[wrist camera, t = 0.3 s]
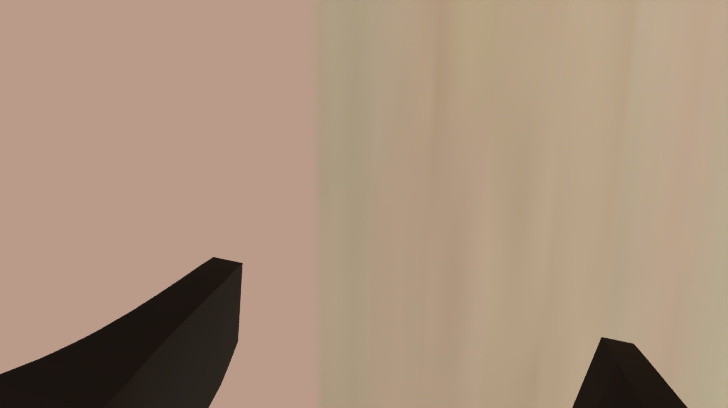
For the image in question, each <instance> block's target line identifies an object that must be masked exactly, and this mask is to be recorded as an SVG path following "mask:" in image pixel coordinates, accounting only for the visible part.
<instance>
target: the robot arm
mask: <svg viewBox="0 0 728 408" xmlns="http://www.w3.org/2000/svg"><path fill="white" fill-rule="evenodd" d="M241 279H242V263H239V262H234V261H229V260H224V259H220V258H215V257H213V258H211V259H210V260H208V261H207V262H205V263H204V264H202V265H201V266H199V267H198V268H196V269H195V270H193V271H192V272H190V273H189V274H187V275H186V276H184V277H183V278H182V279H180V280H179V281H177V282H176V283H174V284H173V285H171V286H170V287H168V288H167V289H165V290H164V291H162V292H161V293H159V294H158V295H156V296H154V297H153V298H151V299H150V300H148V301H147V302H145V303H144V304H142V305H141V306H139V307H137V308H136V309H134V310H133V311H131V312H129V313H128V314H126V315H124V316H122V317H121V318H119V319H117V320H115V321H114V322H112V323H110V324H109V325H107V326H105V327H103V328H102V329H100V330H98V331H96V332H94V333H93V334H91V335H89V336H87V337H85V338H83V339H81V340H79V341H77V342H75V343H73V344H71V345H69V346H66V347H64V348H62V349H60V350H58V351H56V352H54V353H52V354H49V355H47V356H45V357H43V358H40V359H38V360H35V361H33V362H30V363H28V364H25V365H23V366H20V367H18V368H15V369H12V370H10V371H8V372H5V373H2V374H0V408H209V406H210V404H211V402H212V400H213V398H214V397H215V395H216V393H217V391H218V389H219V387H220V385H221V383H222V381H223V378H224V376H225V373H226V371H227V368H228V366H229V363H230V361H231V358H232V356H233V353H234V350H235V348H236V345H237V342H238V331H239V313H240V296H241ZM573 408H687V407H686V405H685V404H684V403H683V402H682V401H681V400H680V398H679V397H678V396H677V395H676V394H675V392H674V391H673V390H672V389H671V387H670V386H669V385H668V384H667V383H666V381H665V380H664V379H663V378H662V377H661V375H660V374H659V373H658V372H657V371H656V369H655V368H654V367H653V366H652V365H651V363H650V362H649V361H648V360H647V359H646V357H645V356H644V355H643V354H642V353H641V352H640V350H639V349H638V348H637V347H636V346H635V345H634V344H632V343H627V342H622V341H618V340H613V339H608V338H603V337H601V340H600V342H599V345H598V347H597V350H596V352H595V354H594V357H593V359H592V362H591V364H590V366H589V369H588V371H587V374H586V376H585V379H584V381H583V383H582V386H581V388H580V391H579V393H578V395H577V398H576V400H575V403H574V405H573Z"/></svg>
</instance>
